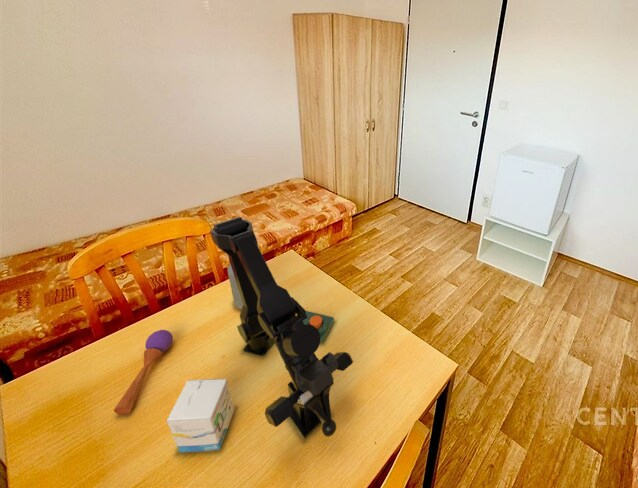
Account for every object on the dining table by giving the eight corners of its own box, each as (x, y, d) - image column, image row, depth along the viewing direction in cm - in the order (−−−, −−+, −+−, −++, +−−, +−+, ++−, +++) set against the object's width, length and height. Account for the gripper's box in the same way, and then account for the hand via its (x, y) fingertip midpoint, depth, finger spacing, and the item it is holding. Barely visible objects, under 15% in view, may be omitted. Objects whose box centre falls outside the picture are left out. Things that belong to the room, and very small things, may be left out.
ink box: (220, 450, 68) (210, 419, 63) (178, 453, 67) (164, 421, 62) (235, 408, 75) (227, 377, 70) (198, 410, 75) (186, 378, 69)
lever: (338, 430, 68) (340, 425, 67) (326, 442, 66) (328, 437, 65) (305, 381, 74) (306, 375, 73) (293, 390, 72) (294, 384, 71)
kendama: (100, 407, 70) (148, 327, 87) (116, 419, 73) (159, 340, 90) (128, 401, 71) (170, 323, 88) (143, 413, 74) (180, 336, 91)
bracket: (330, 416, 75) (328, 387, 71) (304, 440, 71) (301, 411, 66) (307, 386, 81) (304, 358, 76) (281, 406, 76) (277, 378, 72)
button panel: (291, 336, 94) (290, 327, 92) (304, 315, 101) (304, 306, 99) (322, 344, 92) (322, 335, 90) (334, 322, 100) (333, 313, 98)
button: (307, 327, 93) (307, 323, 92) (313, 318, 96) (312, 314, 95) (318, 330, 92) (318, 326, 91) (324, 320, 95) (324, 316, 95)
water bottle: (240, 288, 109) (227, 219, 97) (270, 288, 111) (260, 220, 99) (229, 312, 100) (213, 239, 88) (262, 311, 102) (250, 238, 89)
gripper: (264, 387, 56) (303, 472, 54) (347, 326, 69) (381, 394, 67) (250, 383, 64) (283, 458, 62) (327, 330, 77) (356, 390, 75)
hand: (329, 423), depth 66 cm, fingers closed, pressing on lever
